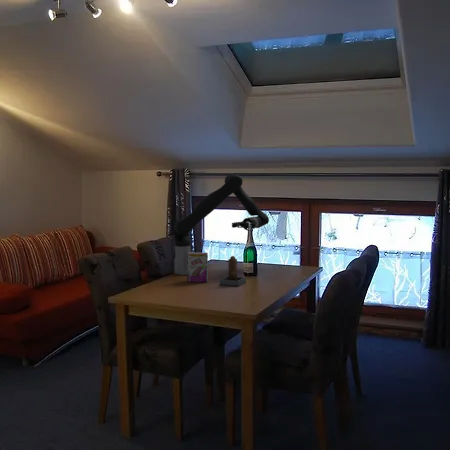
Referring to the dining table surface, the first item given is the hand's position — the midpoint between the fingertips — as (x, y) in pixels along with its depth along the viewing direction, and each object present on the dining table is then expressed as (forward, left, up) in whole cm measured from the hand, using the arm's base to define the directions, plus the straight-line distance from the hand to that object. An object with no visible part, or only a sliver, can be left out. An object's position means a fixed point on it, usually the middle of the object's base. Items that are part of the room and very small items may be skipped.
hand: (239, 226), depth 301 cm
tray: (+4, -18, -30) cm, 35 cm away
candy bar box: (-17, -20, -30) cm, 40 cm away
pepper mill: (+4, -18, -29) cm, 35 cm away
